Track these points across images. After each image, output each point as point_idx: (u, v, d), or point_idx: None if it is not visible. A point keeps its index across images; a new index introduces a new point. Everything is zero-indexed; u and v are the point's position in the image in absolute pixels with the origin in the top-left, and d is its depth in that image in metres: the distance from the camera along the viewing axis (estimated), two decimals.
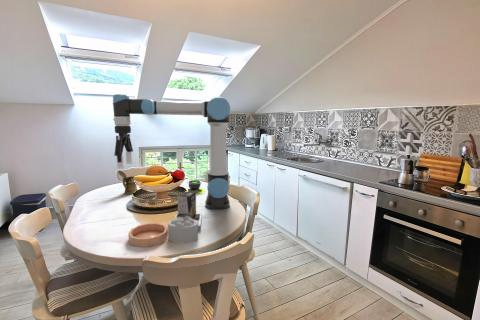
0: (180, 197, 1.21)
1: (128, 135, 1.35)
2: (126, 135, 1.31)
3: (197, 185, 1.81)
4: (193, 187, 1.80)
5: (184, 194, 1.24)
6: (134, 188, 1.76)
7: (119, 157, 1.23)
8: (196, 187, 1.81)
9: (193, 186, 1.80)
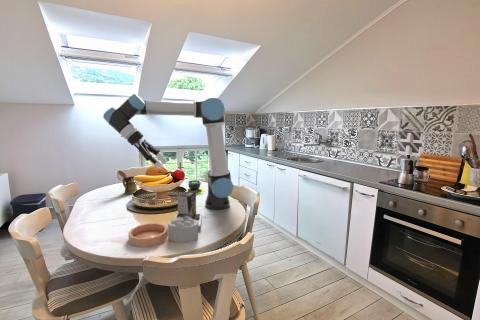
0: (180, 197, 1.21)
1: (144, 140, 1.30)
2: (142, 140, 1.26)
3: (197, 185, 1.80)
4: (193, 187, 1.80)
5: (184, 194, 1.24)
6: (134, 188, 1.76)
7: (152, 159, 1.18)
8: (196, 187, 1.80)
9: (193, 186, 1.79)
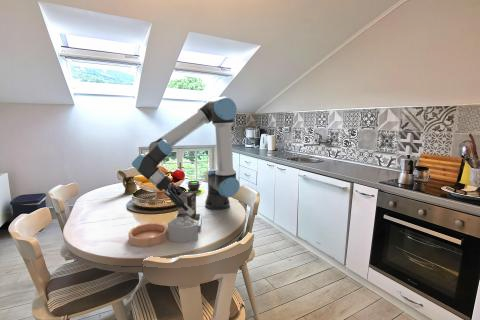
0: (180, 197, 1.21)
1: (172, 184, 1.29)
2: (170, 184, 1.25)
3: (196, 186, 1.79)
4: (192, 188, 1.78)
5: (184, 194, 1.24)
6: (134, 188, 1.76)
7: (183, 206, 1.19)
8: (195, 188, 1.79)
9: (192, 187, 1.78)
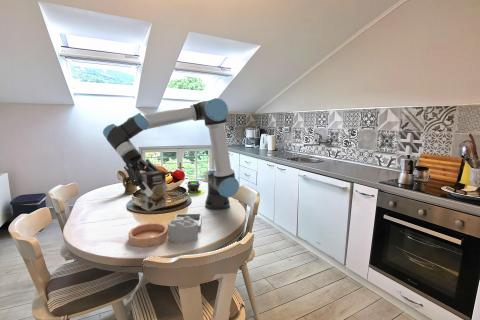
0: (142, 174, 1.07)
1: (146, 160, 1.17)
2: (139, 160, 1.13)
3: (196, 186, 1.78)
4: (192, 188, 1.78)
5: (149, 172, 1.09)
6: (134, 188, 1.76)
7: (140, 185, 1.04)
8: (195, 188, 1.78)
9: (192, 187, 1.77)
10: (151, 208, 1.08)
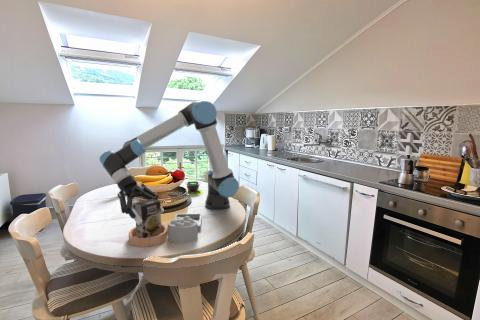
0: (136, 205, 1.08)
1: (142, 185, 1.17)
2: (135, 187, 1.13)
3: (195, 186, 1.77)
4: (191, 188, 1.76)
5: (144, 202, 1.10)
6: None
7: (130, 212, 1.03)
8: (194, 188, 1.77)
9: (191, 187, 1.76)
10: None
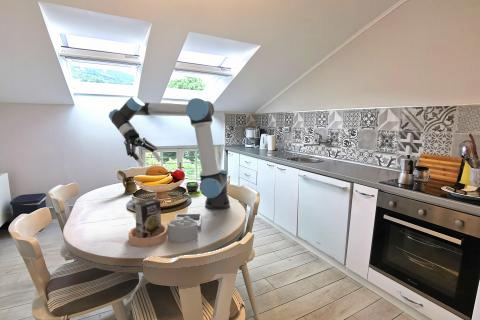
0: (136, 205, 1.08)
1: (143, 138, 1.42)
2: (138, 138, 1.39)
3: (195, 187, 1.76)
4: (191, 189, 1.75)
5: (144, 202, 1.10)
6: (134, 188, 1.76)
7: (134, 155, 1.29)
8: (194, 189, 1.76)
9: (191, 188, 1.75)
10: None
